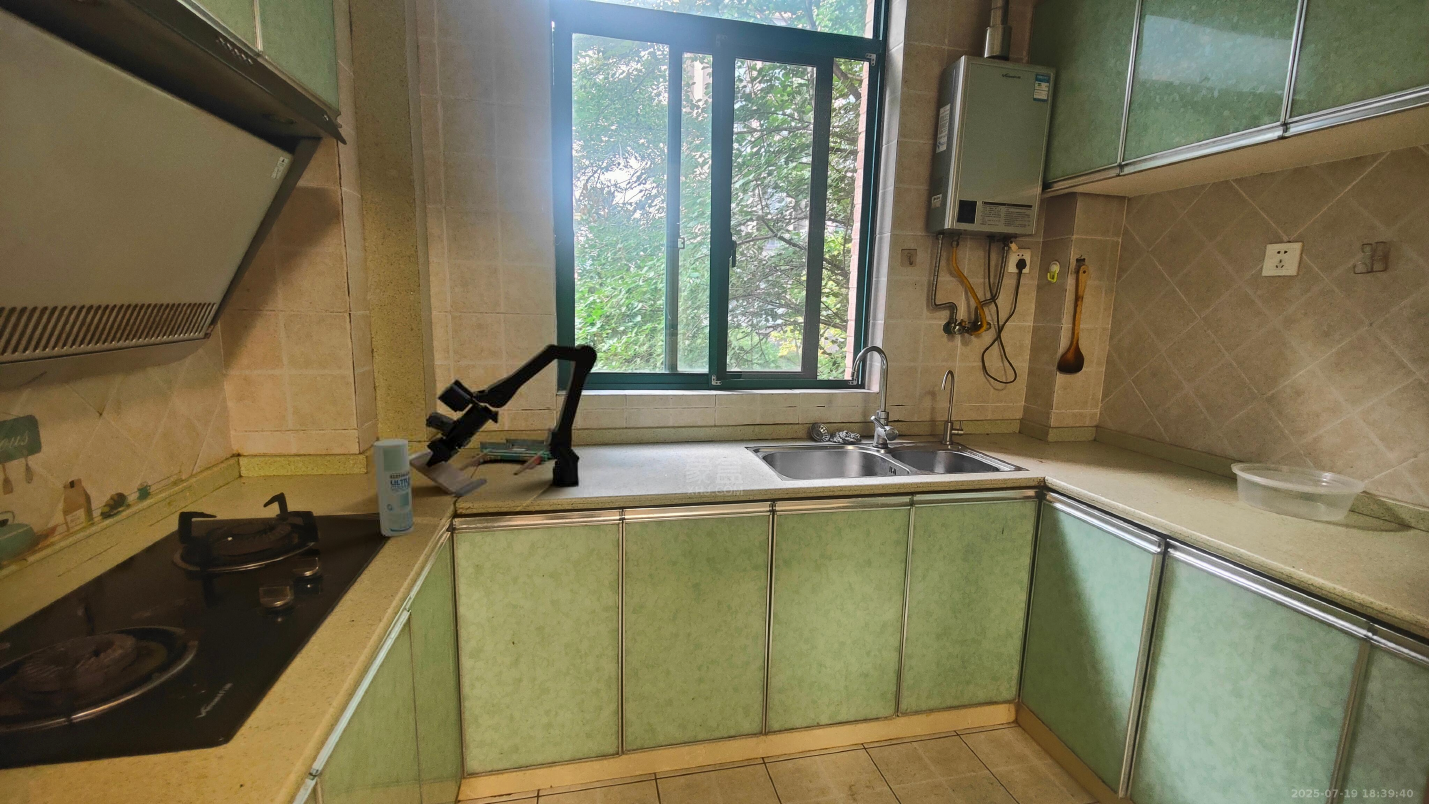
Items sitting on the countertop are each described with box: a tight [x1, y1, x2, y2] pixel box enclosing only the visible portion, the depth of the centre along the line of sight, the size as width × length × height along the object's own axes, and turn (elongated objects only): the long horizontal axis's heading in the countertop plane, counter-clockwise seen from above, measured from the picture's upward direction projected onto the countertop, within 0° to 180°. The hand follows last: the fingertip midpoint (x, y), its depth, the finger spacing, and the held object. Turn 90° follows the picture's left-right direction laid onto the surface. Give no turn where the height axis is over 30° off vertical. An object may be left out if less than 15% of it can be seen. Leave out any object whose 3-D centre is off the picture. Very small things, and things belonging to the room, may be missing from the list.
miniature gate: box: [457, 437, 555, 476], centre depth 183 cm, size 27×6×30 cm
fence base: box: [454, 478, 488, 498], centre depth 154 cm, size 2×12×2 cm, turn 173°
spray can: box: [372, 438, 414, 537], centre depth 126 cm, size 6×6×20 cm
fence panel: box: [409, 448, 475, 496], centre depth 154 cm, size 1×10×15 cm
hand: (427, 465), depth 152 cm, fingers closed
